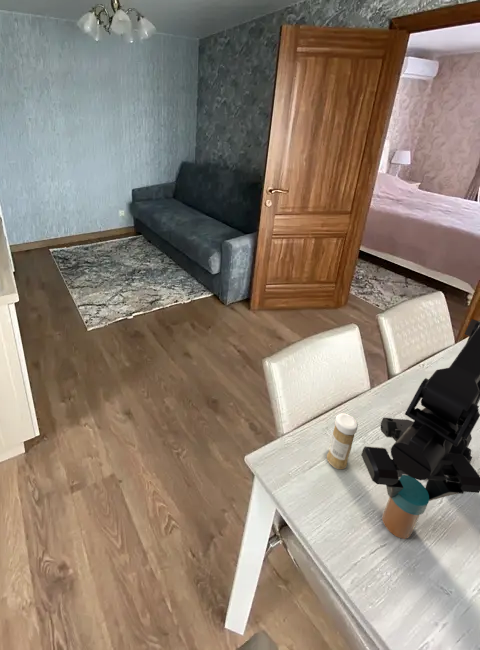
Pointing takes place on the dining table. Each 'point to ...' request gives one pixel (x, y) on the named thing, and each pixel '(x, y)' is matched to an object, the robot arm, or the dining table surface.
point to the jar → (398, 520)
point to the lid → (412, 496)
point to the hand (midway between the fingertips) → (407, 496)
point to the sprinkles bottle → (342, 440)
